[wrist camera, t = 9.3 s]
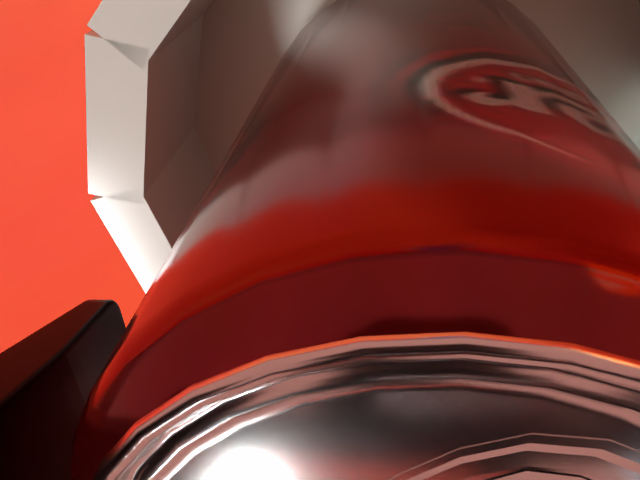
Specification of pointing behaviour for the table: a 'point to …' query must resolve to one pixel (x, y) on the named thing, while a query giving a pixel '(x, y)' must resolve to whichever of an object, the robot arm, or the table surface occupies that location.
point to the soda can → (394, 272)
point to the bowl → (255, 95)
